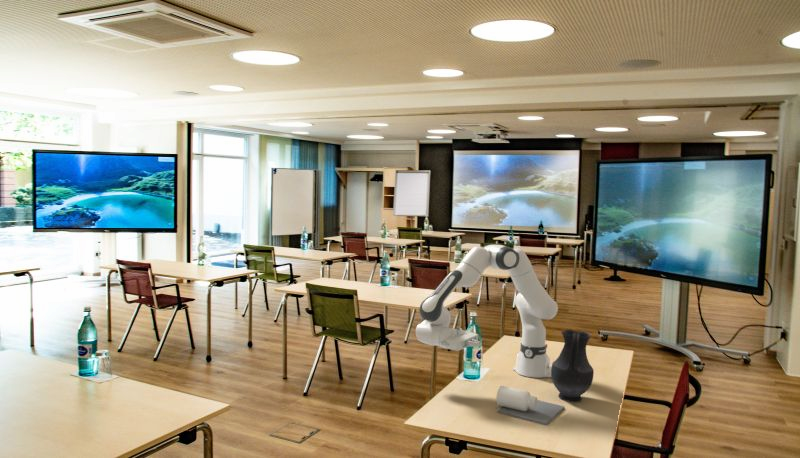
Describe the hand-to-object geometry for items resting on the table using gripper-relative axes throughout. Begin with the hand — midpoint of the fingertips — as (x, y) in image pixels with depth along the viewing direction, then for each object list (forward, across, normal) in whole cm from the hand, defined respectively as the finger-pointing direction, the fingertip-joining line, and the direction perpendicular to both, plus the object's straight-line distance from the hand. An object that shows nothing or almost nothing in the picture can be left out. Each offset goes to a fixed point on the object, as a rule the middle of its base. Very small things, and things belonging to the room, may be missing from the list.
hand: (479, 344), depth 250 cm
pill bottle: (+12, -4, +18) cm, 22 cm away
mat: (+24, 0, +22) cm, 33 cm away
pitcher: (+33, +23, +22) cm, 46 cm away
